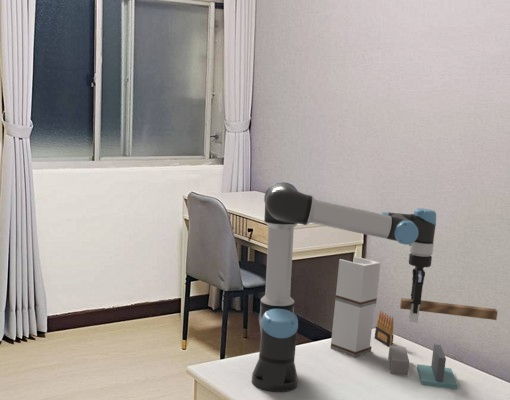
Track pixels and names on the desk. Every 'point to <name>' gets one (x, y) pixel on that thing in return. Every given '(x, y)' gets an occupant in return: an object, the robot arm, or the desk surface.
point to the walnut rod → (452, 309)
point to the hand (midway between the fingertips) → (413, 320)
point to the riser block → (398, 360)
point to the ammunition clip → (384, 329)
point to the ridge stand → (437, 371)
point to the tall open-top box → (355, 306)
